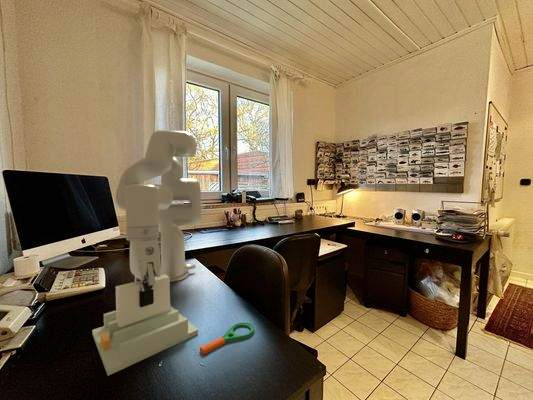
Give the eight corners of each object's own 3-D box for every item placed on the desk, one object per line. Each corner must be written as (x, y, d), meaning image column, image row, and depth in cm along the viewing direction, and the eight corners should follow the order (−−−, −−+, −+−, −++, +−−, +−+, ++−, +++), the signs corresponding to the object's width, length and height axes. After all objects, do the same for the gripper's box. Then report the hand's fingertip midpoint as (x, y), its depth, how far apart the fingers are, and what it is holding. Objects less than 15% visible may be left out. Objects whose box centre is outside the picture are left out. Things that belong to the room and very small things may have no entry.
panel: (165, 305, 66) (165, 274, 66) (170, 309, 64) (169, 277, 64) (116, 322, 58) (115, 286, 58) (119, 327, 56) (118, 290, 56)
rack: (169, 307, 75) (168, 293, 75) (198, 333, 62) (197, 316, 62) (92, 334, 61) (91, 316, 61) (107, 375, 48) (107, 353, 48)
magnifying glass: (244, 323, 67) (244, 318, 67) (258, 333, 63) (258, 327, 63) (195, 349, 57) (195, 342, 56) (208, 362, 52) (208, 354, 52)
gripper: (170, 234, 57) (171, 309, 58) (148, 227, 69) (149, 289, 69) (136, 239, 52) (138, 320, 53) (118, 230, 64) (119, 297, 64)
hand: (144, 302), depth 61 cm, fingers closed on panel, 2 cm apart
